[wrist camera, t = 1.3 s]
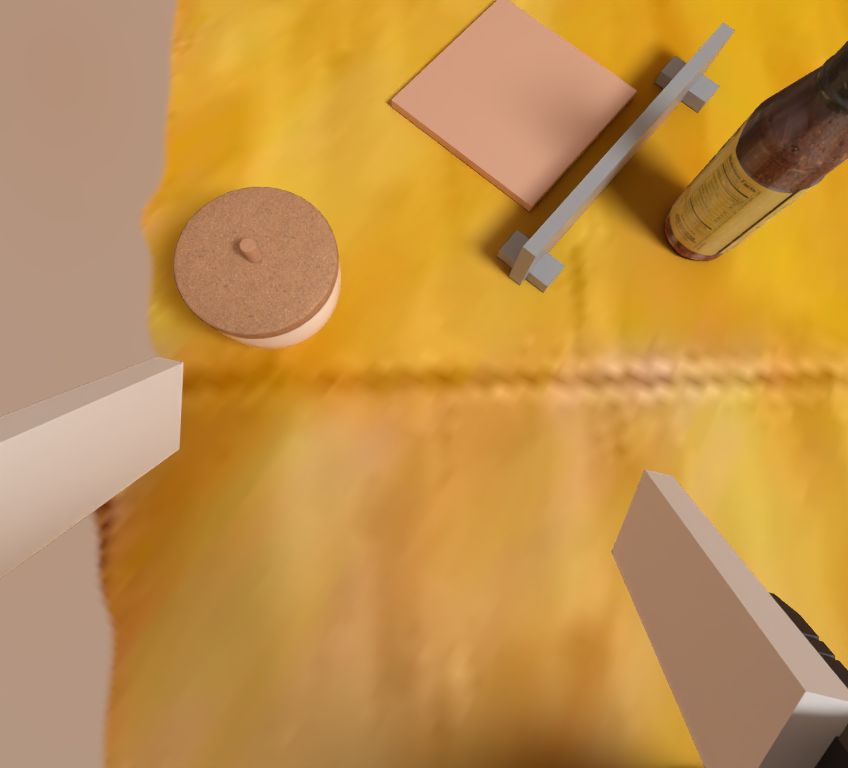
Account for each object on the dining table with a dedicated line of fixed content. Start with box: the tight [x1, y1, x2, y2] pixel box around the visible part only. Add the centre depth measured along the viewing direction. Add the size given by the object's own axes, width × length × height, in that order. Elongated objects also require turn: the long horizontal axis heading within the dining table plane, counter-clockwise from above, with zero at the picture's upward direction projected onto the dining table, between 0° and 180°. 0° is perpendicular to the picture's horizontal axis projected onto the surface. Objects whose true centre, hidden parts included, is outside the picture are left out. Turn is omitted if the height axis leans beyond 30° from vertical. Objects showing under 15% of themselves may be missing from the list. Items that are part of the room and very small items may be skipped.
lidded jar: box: [174, 187, 341, 349], centre depth 34 cm, size 11×11×9 cm
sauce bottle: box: [665, 41, 848, 261], centre depth 32 cm, size 7×6×20 cm
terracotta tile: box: [391, 0, 637, 212], centre depth 43 cm, size 16×16×1 cm
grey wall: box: [497, 23, 735, 292], centre depth 40 cm, size 5×28×5 cm, turn 139°
